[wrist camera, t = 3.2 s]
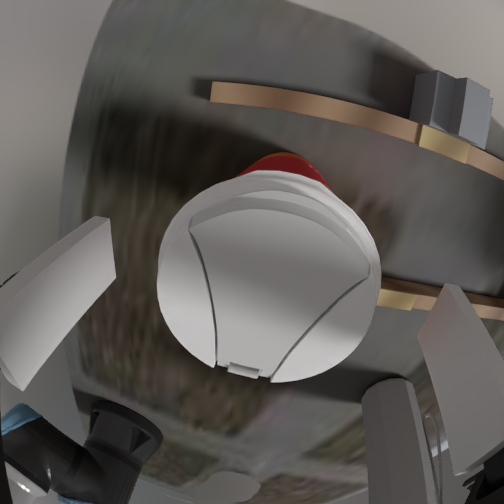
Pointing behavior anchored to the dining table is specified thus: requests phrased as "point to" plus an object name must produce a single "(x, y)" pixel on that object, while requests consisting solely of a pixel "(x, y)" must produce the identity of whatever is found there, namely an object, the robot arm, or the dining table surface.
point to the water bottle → (398, 446)
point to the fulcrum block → (452, 106)
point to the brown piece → (354, 114)
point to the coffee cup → (269, 273)
